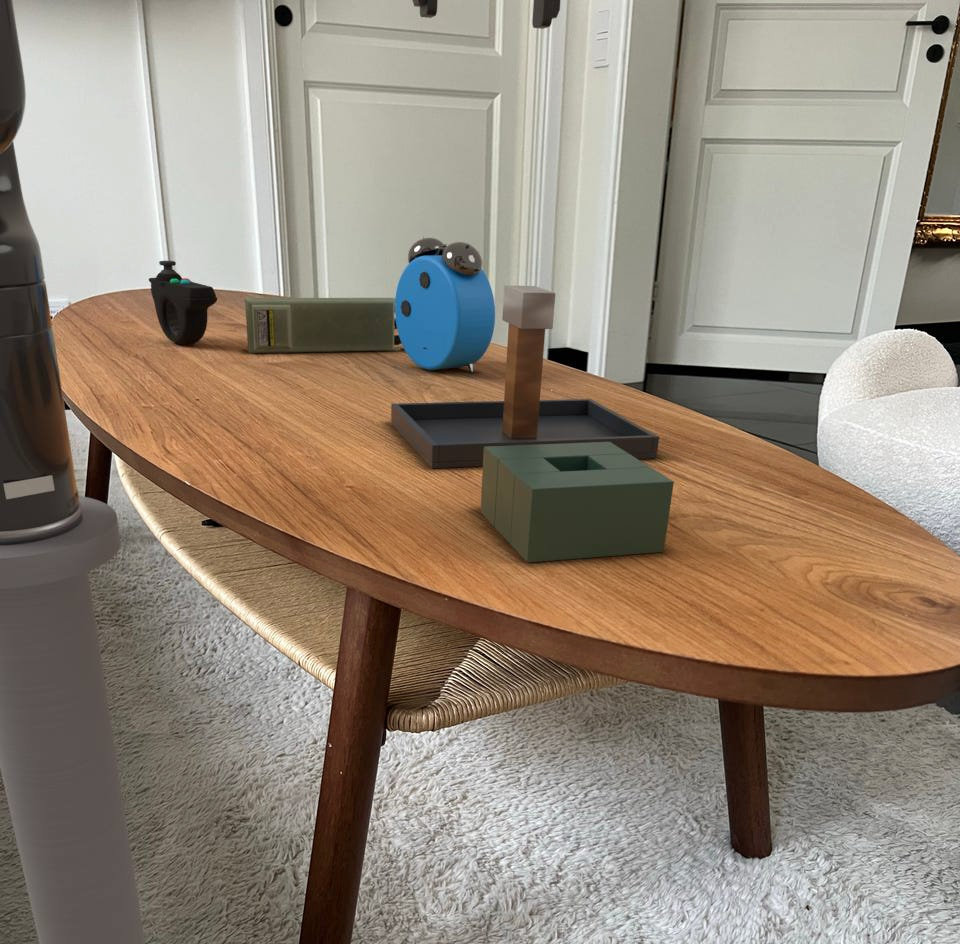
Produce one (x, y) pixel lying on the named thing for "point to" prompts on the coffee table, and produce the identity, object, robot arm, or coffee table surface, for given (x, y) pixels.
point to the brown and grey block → (525, 356)
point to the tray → (474, 425)
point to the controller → (181, 305)
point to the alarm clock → (444, 305)
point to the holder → (574, 500)
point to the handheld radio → (320, 324)
